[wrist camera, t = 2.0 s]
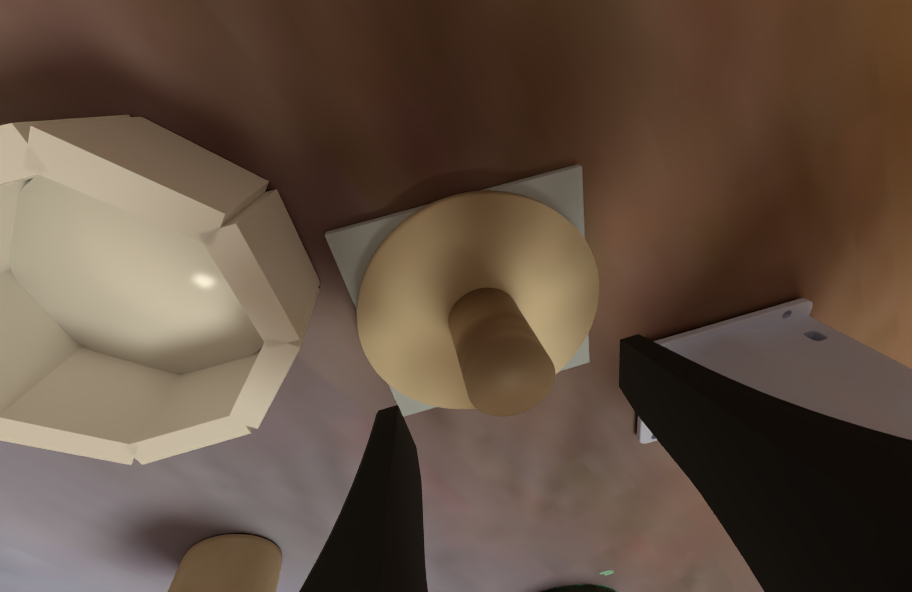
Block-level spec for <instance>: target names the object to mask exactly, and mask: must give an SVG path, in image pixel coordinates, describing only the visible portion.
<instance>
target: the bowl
mask: <svg viewBox="0 0 912 592" xmlns="http://www.w3.org/2000/svg"><path fill="white" fill-rule="evenodd" d="M268 183H269V181H267V180H265V179H263V178H261V177H259V176H257V175H255V174H254V173H252V172H250V171H248V170H246V169H244V168H242V167H240V166H238V165H236V164H234V163H232V162H230V161H228V160H226V159H224V158H222V157H220V156H218V155H216V154H214V153H212V152H210V151H208V150H206V149H204V148H202V147H200V146H198V145H196V144H194V143H192V142H191V141H189V140H187V139H185V138H183V137H181V136H179V135H177V134H175V133H173V132H171V131H169V130H167V129H165V128H163V127H161V126H159V125H157V124H155V123H153V122H151V121H149V120H147V119H145V118H143V117H141V116H140V117H130V115H115V116H101V117H87V118H73V119H59V120H45V121H31V122H17V123H9V124H5V125H1V126H0V440H1V441H6V442H11V443H17V444H22V445H27V446H33V447H38V448H43V449H49V450H54V451H59V452H65V453H70V454H75V455H80V456H86V457H91V458H96V459H102V460H107V461H112V462H118V463H123V464H128V465H132V463H133V462H134V460H135V459H136V460H138V461H139V462H140V463H141V464H142V465H143V464H147V463H150V462H153V461H157V460H160V459H164V458H167V457H171V456H174V455H178V454H181V453H185V452H188V451H192V450H195V449H198V448H202V447H205V446H209V445H212V444H216V443H219V442H223V441H226V440H230V439H233V438H237V437H240V436H243V435H247V434H250V433H252V430H253V428H257V429H258V427H259V425H260V423H261V422H262V420H263V418H264V416H265V414H266V412H267V410H268V408H269V406H270V405H271V403H272V401H273V399H274V397H275V395H276V393H277V391H278V389H279V387H280V386H281V384H282V382H283V380H284V378H285V376H286V374H287V372H288V370H289V369H290V367H291V365H292V363H293V361H294V359H295V357H296V355H297V353H298V351H299V350H300V348H301V345H302V342H303V339H304V336H305V333H306V330H307V327H308V324H309V321H310V318H311V315H312V312H313V309H314V306H315V303H316V300H317V297H318V294H319V291H320V289H319V288H318V287H319V284H320V280H319V278H318V276H317V274H316V272H315V270H314V267H313V265H312V263H311V261H310V259H309V257H308V255H307V253H306V250H305V248H304V246H303V244H302V242H301V240H300V238H299V236H298V233H297V231H296V229H295V227H294V225H293V223H292V221H291V218H290V216H289V214H288V212H287V210H286V208H285V206H284V204H283V201H282V199H281V197H280V195H279V193H278V191H277V189H274V190H271V191H267V192H265V191H266V188H267V186H268Z"/></svg>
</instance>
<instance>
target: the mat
mask: <svg viewBox="0 0 912 592" xmlns="http://www.w3.org/2000/svg"><path fill="white" fill-rule="evenodd" d="M483 190H494V191H507V192H512V193H516V194H521V195H524V196H527V197H530V198H532V199H535V200H537V201H539V202H541V203H543V204H545V205H546V206H548V207H550V208H552V209H553V210H555V211H556V212H558V213H559V214H561V215H562V216H563V217H564V218H566V219H567V220H568V221H569V222H570V223H572V224H573V225H574V227H575V228H576V229H577V230H578V231H579V232H580V233H581V234H582V236H583V237H584V239H585V232H584V205H583V178H582V166H581V165H578V164H576V165H572V166H569V167H565V168H561V169H558V170H554V171H550V172H546V173H543V174H539V175H535V176H531V177H528V178H524V179H520V180H517V181H513V182H509V183H505V184H502V185H498V186H494V187H491V188H487V189H483ZM479 191H482V190H479ZM427 205H428V204H427ZM424 206H426V205H424ZM424 206H420V207H416V208H412V209H409V210H405V211H401V212H397V213H394V214H390V215H386V216H383V217H379V218H375V219H371V220H368V221H364V222H360V223H357V224H353V225H349V226H345V227H342V228H338V229H334V230H330V231H327V232H326V233H325V235H324V236H325V238H326V240H327V242H328V245H329V247H330V249H331V252H332V254H333V256H334V259H335V261H336V263H337V266H338V268H339V270H340V273H341V275H342V277H343V280H344V282H345V284H346V287H347V289H348V291H349V294H350V296H351V298H352V301H353V303H354V305H355V308H356V310H357V306H358V299H359V292H360V286H361V282H362V279H363V276H364V272H365V270H366V268H367V266H368V264H369V261H370V259H371V257H372V256H373V254H374V253H375V251H376V250H377V248H378V247H379V245H380V243H381V242H382V241H383V240H384V239H385V238H386V237H387V235H388V234H389V233H390V232H391V231H392V230H393V229H394V228H395V227H396V226H398V225H399V224H400V223H401V222H402V221H403V220H404V219H406V218H407V217H409V216H410V215H412V214H413V213H415V212H416V211H418V210H419V209H420V208H422V207H424ZM585 363H589V339H588V335H587V337H586V339H585V340H584V342H583V343H582V345H581V347H580V348H579V350H578V351H577V352H576V353H575V355H574V356H573V357H572V359H571V360H570V361H569V362H568V363H567V364H566V365H565V366H564V367H563V368H562V369H561V370H565V369H568V368H572V367H575V366H579V365H582V364H585ZM561 370H560V371H561ZM389 386H390V385H389ZM390 389H391V391H392V393H393V396H394V398H395V400H396V403H397V405H398V406H399V408H400V411H401V413H402V415H403V417H404V416H407V415H411V414H414V413H418V412H421V411H425V410H428V409H431V408H435V407H436V406H432V405H428V404H424V403H421V402H419V401H416V400H414V399H411V398H409V397H407V396H406V395H404V394H402V393H400V392H398V391H397V390H396V389H394V388H393V387H392V386H390Z"/></svg>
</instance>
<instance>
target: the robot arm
mask: <svg viewBox="0 0 912 592" xmlns="http://www.w3.org/2000/svg"><path fill="white" fill-rule="evenodd" d="M812 306H813V304H812V302H811V301H809V300H807V299H805V298H801V299H797V300H794V301H790V302H787V303H783V304H780V305H777V306H773V307H770V308H766V309H763V310H759V311H756V312H753V313H749V314H746V315H742V316H739V317H735V318H732V319H729V320H725V321H722V322H718V323H715V324H711V325H708V326H705V327H701V328H698V329H694V330H691V331H687V332H684V333H681V334H677V335H674V336H670V337H667V338H663V339H660V340H657V341H651V340H649V339H647V338H645V337H643V336H641V335H639V334H638V335H634V336H631V337H627V338H624V339H621V340H620V367H619V387H620V388H621V390H622V392H623V393H624V395H625V397H626V398H627V400H628V401H629V403H630V405H631V406H632V408H633V409H634V411H635V412H636V414H637V415H638V422H637V439H638V440H639V441H640V442H641V443H644V444H645V443H650V442H653V441H656V440H658V441H659V442H660V444H661V445H662V446H663V447H664V448H665V450H666V451H667V452H668V453H669V454H670V456H671V457H672V458H673V459H674V461H675V462H676V463H677V464H678V465H679V467H680V468H681V469H682V470H683V472H684V473H685V474H686V475H687V476H688V478H689V479H690V480H691V482H692V483H693V484H694V486H695V487H696V488H697V489H698V491H699V492H700V493H701V495H702V496H703V498H704V499H705V501H706V502H707V504H708V505H709V507H710V508H711V510H712V511H713V512H714V514H715V515H716V517H717V518H718V520H719V521H720V523H721V524H722V526H723V527H724V529H725V530H726V532H727V533H728V535H729V536H730V538H731V539H732V541H733V543H734V544H735V546H736V547H737V549H738V550H739V552H740V553H741V555H742V556H743V558H744V559H745V561H746V562H747V564H748V566H749V567H750V569H751V571H752V572H753V574H754V575H755V577H756V579H757V580H758V582H759V583H760V585H761V587H762V588H763V590H764V592H912V369H911V368H909V367H907V366H905V365H903V364H901V363H899V362H897V361H895V360H893V359H891V358H889V357H888V356H886V355H884V354H882V353H880V352H878V351H876V350H874V349H872V348H870V347H868V346H866V345H864V344H862V343H861V342H859V341H857V340H855V339H853V338H851V337H849V336H847V335H845V334H843V333H841V332H839V331H837V330H835V329H834V328H832V327H830V326H828V325H826V324H824V323H822V322H820V321H818V320H816V319H814V318H812V317H810V316H809V315H810V312H811V309H812ZM299 592H428V589H427V581H426V570H425V554H424V530H423V507H422V486H421V475H420V468H419V462H418V455H417V449H416V445H415V443H414V441H413V438H412V436H411V434H410V431H409V429H408V427H407V424H406V422H405V420H404V418H403V415H402V413H401V411H400V408H399V406H398V405H396V406H393V407H389V408H386V409H383V410H379V411H378V413H377V414H376V418H375V421H374V424H373V428H372V431H371V434H370V437H369V440H368V443H367V446H366V449H365V452H364V455H363V458H362V460H361V463H360V466H359V469H358V471H357V474H356V477H355V479H354V482H353V484H352V487H351V489H350V491H349V494H348V496H347V498H346V501H345V503H344V505H343V508H342V510H341V512H340V514H339V517H338V519H337V521H336V523H335V525H334V527H333V529H332V531H331V534H330V536H329V538H328V540H327V542H326V543H325V545H324V547H323V549H322V551H321V553H320V555H319V557H318V559H317V561H316V563H315V564H314V566H313V568H312V570H311V572H310V573H309V575H308V577H307V579H306V581H305V582H304V584H303V586H302V588H301V590H300V591H299Z"/></svg>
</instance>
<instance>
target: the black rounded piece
mask: <svg viewBox="0 0 912 592" xmlns="http://www.w3.org/2000/svg"><path fill="white" fill-rule="evenodd" d="M613 572H614V571H611V570H609V571H605V572H601V573H600V574H604V575H610V574H612V573H613ZM542 592H617V591H615V590H613V589H612V588H611V587H609V586H606V585H587V584H577V585H570V586H563V587H558V588H553V589H549V590H546V591H542Z"/></svg>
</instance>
